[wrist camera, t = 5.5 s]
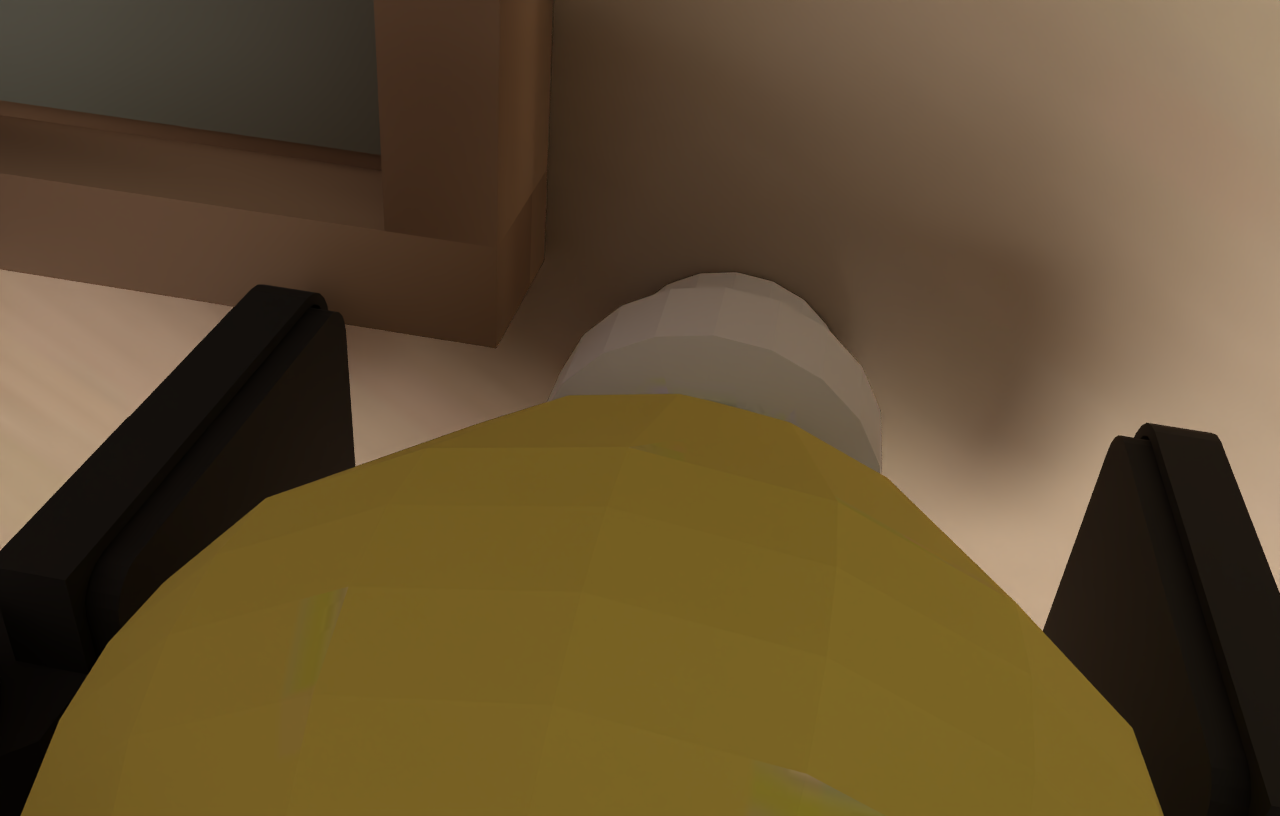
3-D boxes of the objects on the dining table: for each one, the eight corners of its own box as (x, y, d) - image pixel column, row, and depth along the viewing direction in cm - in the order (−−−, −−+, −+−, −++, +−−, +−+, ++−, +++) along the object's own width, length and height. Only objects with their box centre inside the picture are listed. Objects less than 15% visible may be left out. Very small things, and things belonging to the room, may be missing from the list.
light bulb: (313, 379, 14) (-562, 1527, 6) (679, -109, 10) (-227, 1050, 2) (760, 696, 15) (598, 1976, 7) (1215, 364, 12) (1964, 2151, 3)
